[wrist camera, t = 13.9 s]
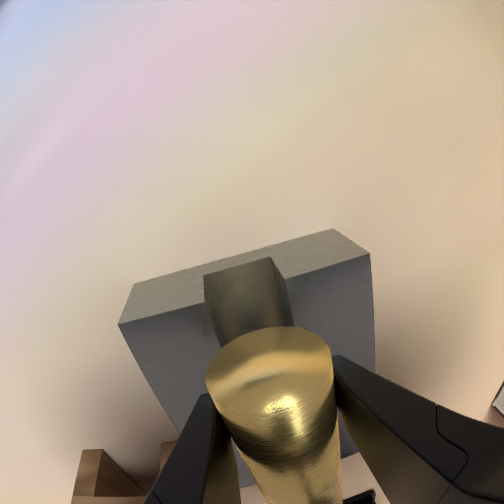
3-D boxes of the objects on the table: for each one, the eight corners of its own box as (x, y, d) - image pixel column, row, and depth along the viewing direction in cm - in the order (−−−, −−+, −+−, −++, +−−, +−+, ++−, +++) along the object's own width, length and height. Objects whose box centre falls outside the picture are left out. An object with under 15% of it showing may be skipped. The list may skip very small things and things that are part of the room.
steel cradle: (332, 228, 12) (369, 253, 9) (350, 410, 16) (371, 446, 13) (134, 284, 12) (117, 324, 9) (216, 449, 15) (221, 491, 13)
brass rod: (206, 341, 8) (203, 424, 6) (313, 315, 8) (349, 390, 6) (277, 498, 12) (285, 546, 9) (335, 485, 12) (349, 531, 9)
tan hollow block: (185, 439, 15) (188, 505, 11) (218, 485, 17) (226, 538, 13) (82, 450, 14) (70, 506, 10) (128, 494, 16) (125, 542, 12)
